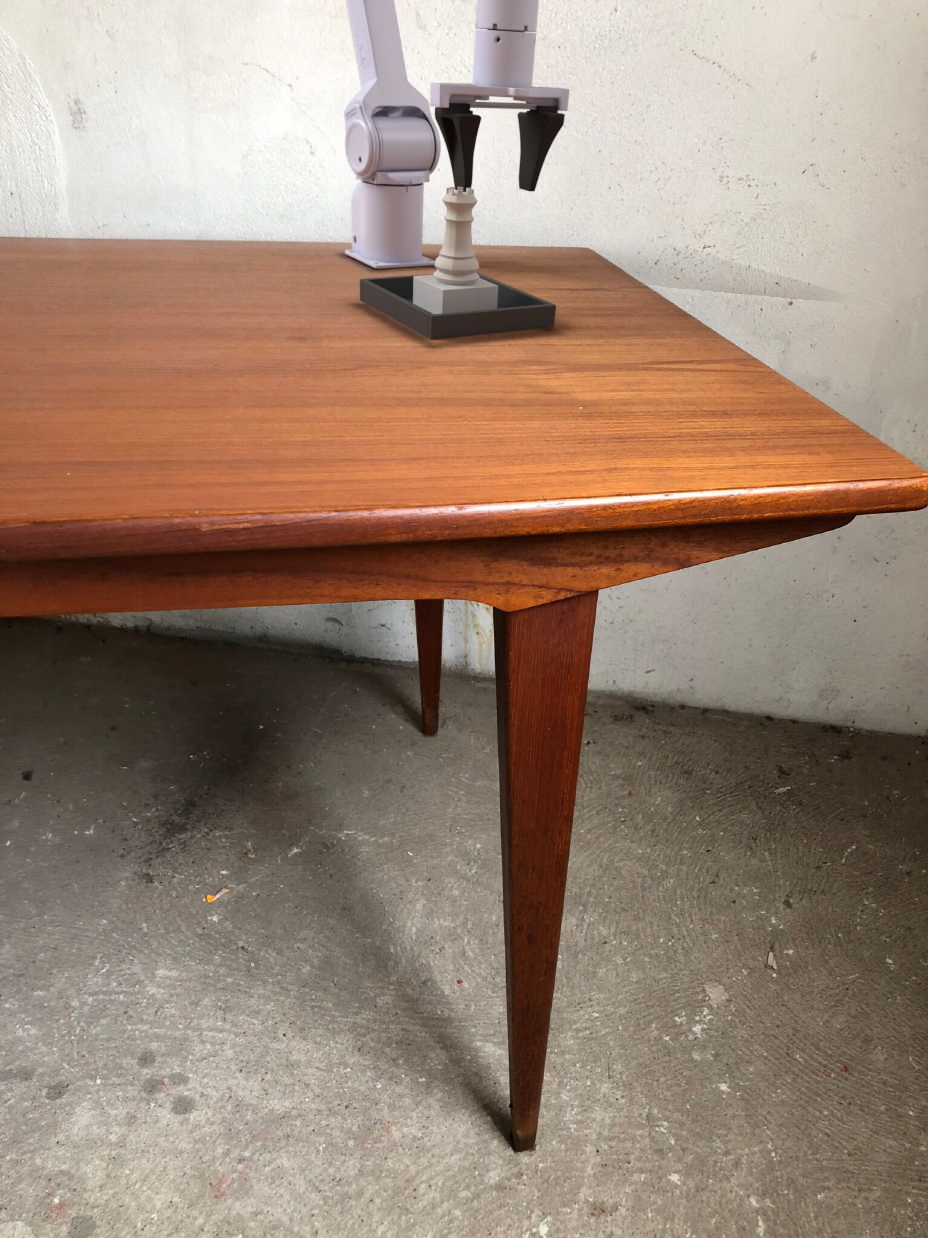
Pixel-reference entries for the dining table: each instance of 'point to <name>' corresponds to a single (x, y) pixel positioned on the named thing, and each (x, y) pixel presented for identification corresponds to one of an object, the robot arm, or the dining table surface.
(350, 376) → the dining table surface
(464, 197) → the rook chess piece
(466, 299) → the grey block
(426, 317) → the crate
